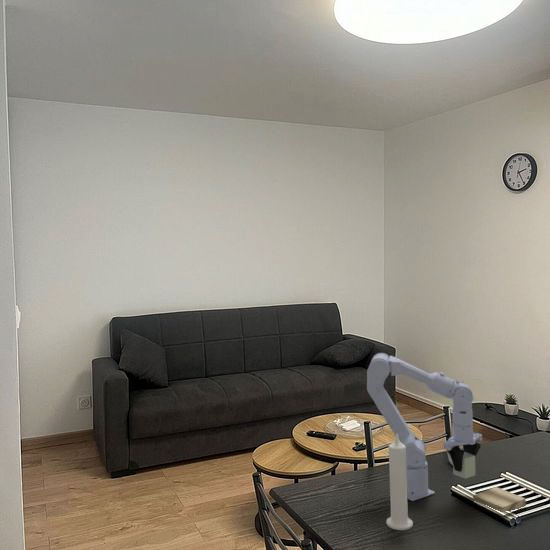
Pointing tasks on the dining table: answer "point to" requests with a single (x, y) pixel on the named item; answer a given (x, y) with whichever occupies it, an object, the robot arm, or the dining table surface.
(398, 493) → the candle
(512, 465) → the dining table surface
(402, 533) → the dining table surface
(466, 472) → the sage block
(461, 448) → the grey flat oval piece
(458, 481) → the dining table surface
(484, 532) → the dining table surface
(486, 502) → the maple slab
